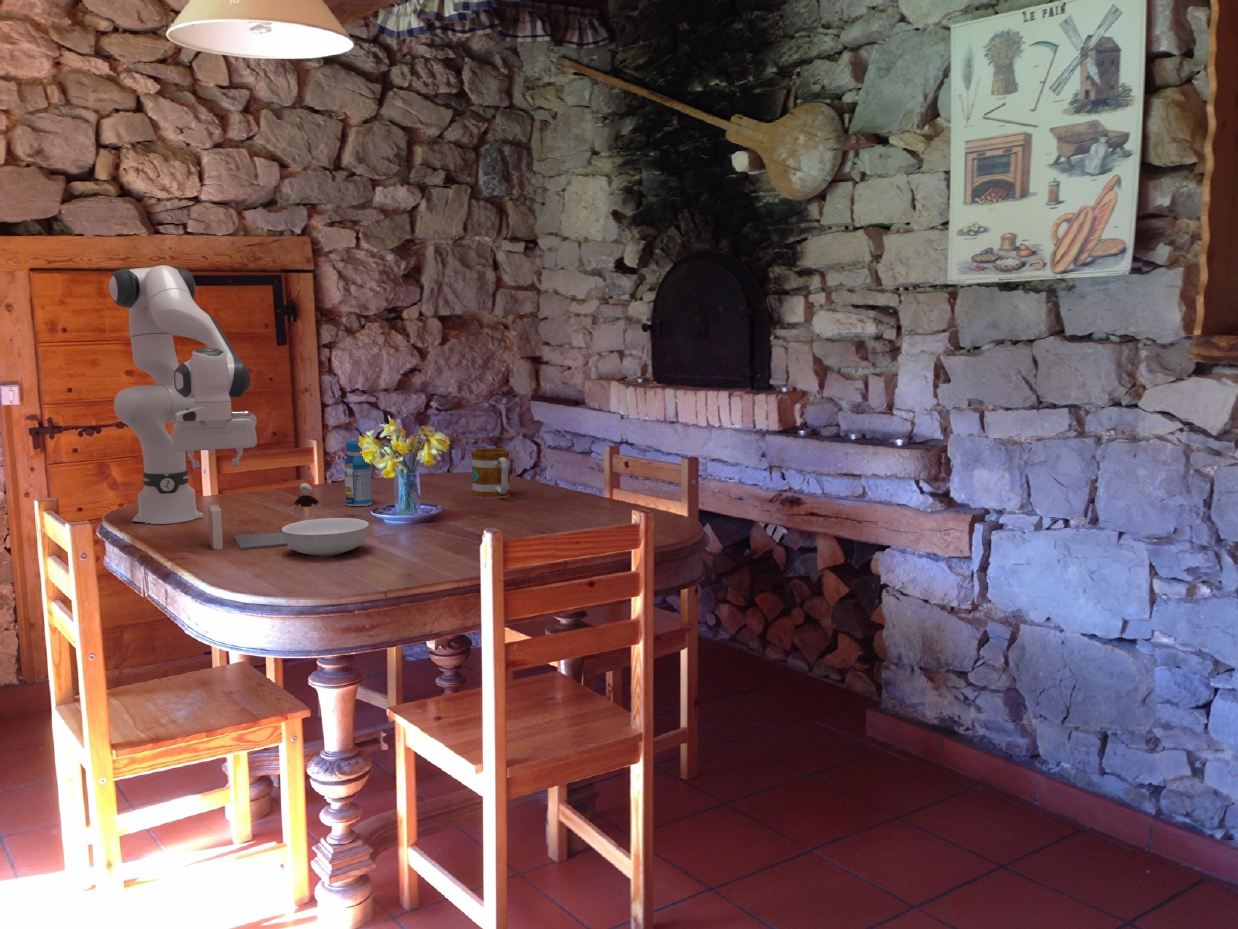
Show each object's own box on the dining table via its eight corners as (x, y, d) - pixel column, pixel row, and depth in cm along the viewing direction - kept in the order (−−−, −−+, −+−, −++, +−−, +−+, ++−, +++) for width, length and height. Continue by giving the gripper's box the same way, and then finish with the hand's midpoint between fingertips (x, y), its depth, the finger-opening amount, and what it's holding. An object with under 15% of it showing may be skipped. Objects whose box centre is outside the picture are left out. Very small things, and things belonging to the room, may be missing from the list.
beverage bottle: (366, 507, 320) (364, 443, 317) (340, 506, 321) (338, 442, 318) (377, 502, 328) (375, 440, 325) (351, 502, 330) (349, 439, 327)
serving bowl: (336, 539, 275) (335, 514, 274) (386, 551, 262) (385, 524, 261) (266, 553, 259) (265, 526, 258) (315, 566, 246) (314, 537, 245)
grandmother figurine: (292, 530, 286) (291, 484, 284) (293, 527, 290) (291, 482, 288) (321, 528, 288) (320, 483, 286) (321, 526, 292) (320, 481, 290)
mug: (464, 494, 345) (464, 449, 343) (502, 491, 351) (502, 447, 349) (486, 503, 328) (485, 456, 326) (525, 500, 334) (525, 454, 332)
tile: (209, 543, 269) (207, 505, 268) (219, 542, 270) (217, 504, 269) (212, 549, 262) (210, 510, 261) (223, 548, 263) (221, 510, 262)
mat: (233, 538, 275) (233, 536, 275) (296, 533, 282) (296, 531, 282) (240, 549, 262) (240, 547, 262) (306, 543, 269) (306, 541, 269)
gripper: (254, 410, 269) (257, 462, 271) (168, 413, 260) (172, 468, 262) (257, 411, 264) (261, 465, 266) (170, 415, 255) (174, 471, 256)
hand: (216, 467), depth 264 cm, fingers open, 8 cm apart
